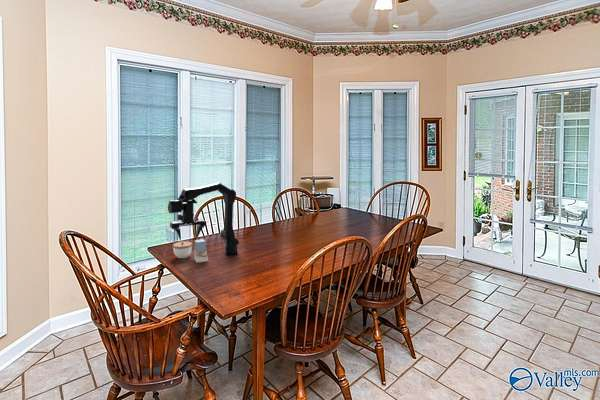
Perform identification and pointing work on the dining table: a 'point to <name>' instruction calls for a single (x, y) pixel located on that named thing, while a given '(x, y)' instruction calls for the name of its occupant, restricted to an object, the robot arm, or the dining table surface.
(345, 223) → the dining table surface
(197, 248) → the blue block
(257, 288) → the dining table surface
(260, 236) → the dining table surface
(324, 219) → the dining table surface
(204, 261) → the slab bottom
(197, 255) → the slab top
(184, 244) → the lidded jar
